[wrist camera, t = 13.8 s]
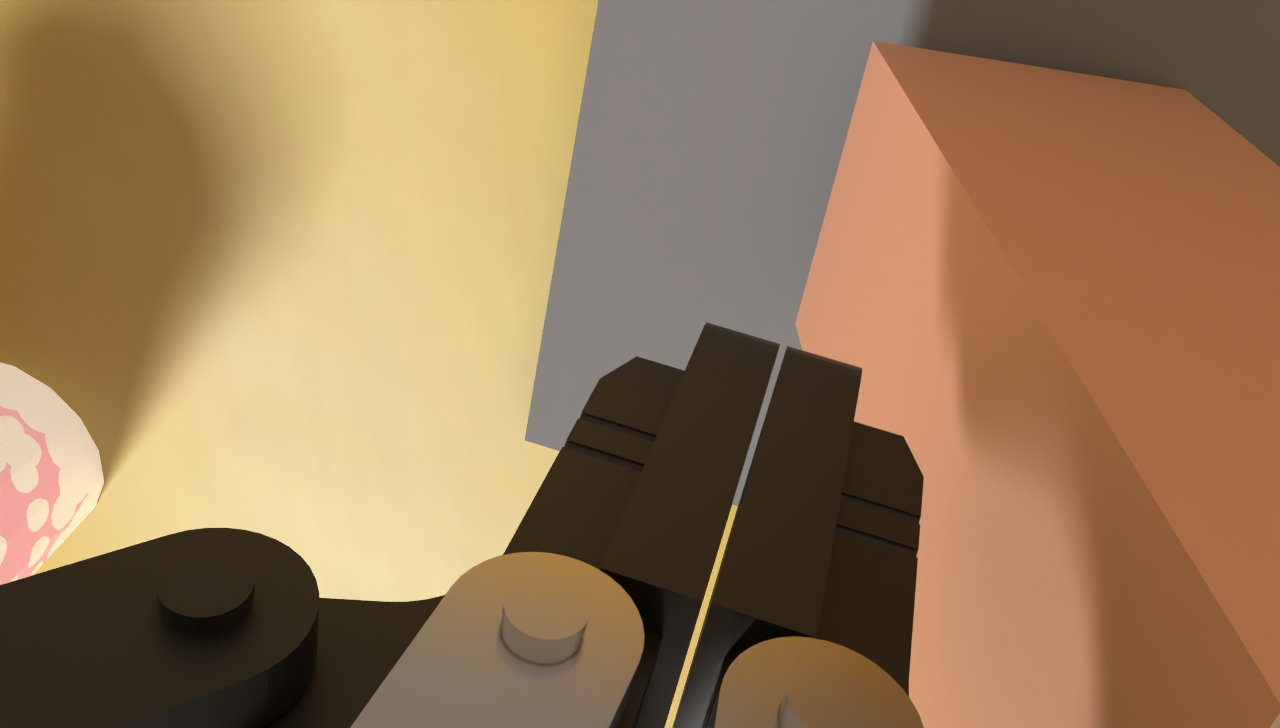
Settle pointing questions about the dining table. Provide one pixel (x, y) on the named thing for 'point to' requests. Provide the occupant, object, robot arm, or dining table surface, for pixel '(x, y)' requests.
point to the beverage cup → (40, 473)
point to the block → (1067, 387)
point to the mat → (799, 151)
